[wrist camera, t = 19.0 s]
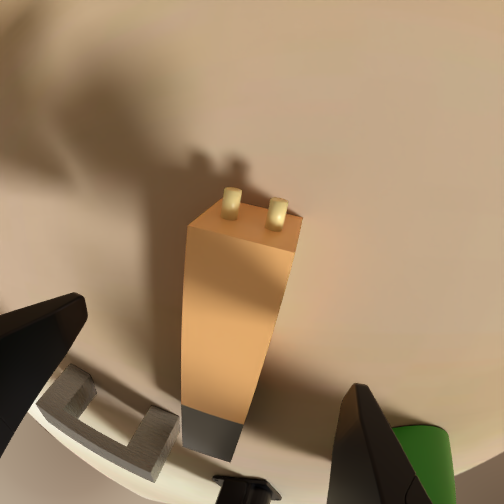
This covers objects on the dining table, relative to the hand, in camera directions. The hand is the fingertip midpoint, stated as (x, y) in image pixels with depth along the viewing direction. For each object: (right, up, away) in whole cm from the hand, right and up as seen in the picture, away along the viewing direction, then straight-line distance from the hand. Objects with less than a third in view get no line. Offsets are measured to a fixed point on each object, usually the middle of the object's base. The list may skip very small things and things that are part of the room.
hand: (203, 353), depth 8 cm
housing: (-10, -10, +14) cm, 20 cm away
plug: (0, -2, +7) cm, 8 cm away
